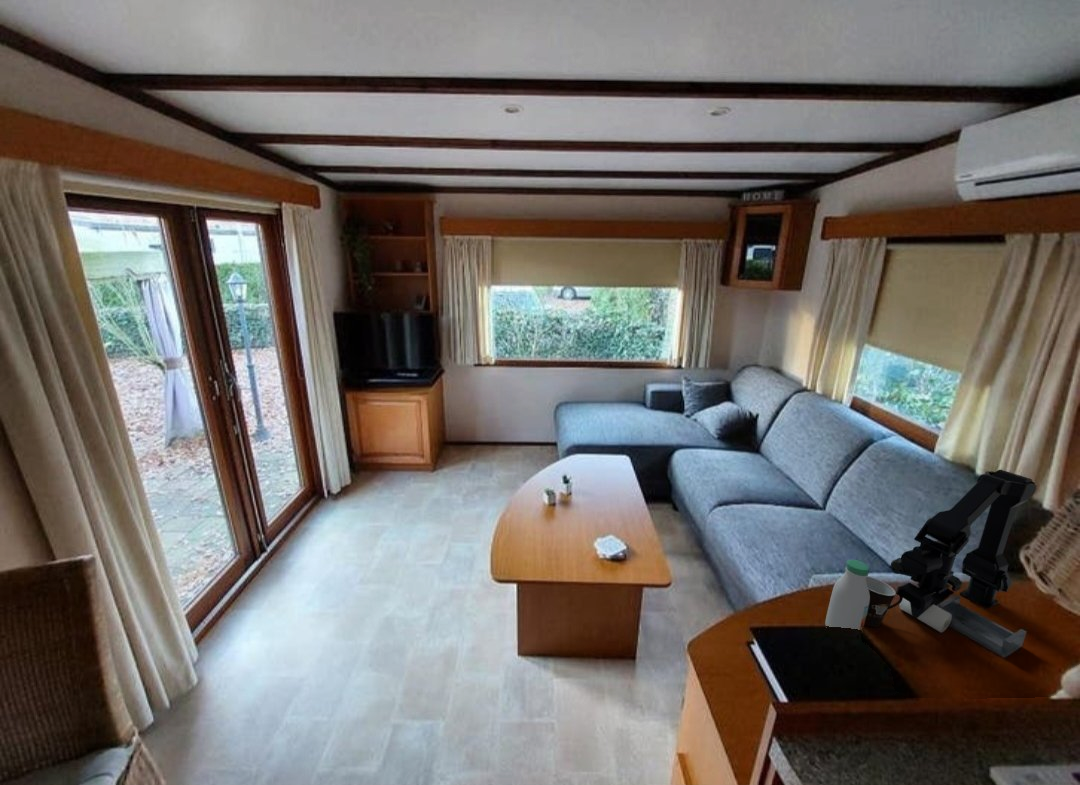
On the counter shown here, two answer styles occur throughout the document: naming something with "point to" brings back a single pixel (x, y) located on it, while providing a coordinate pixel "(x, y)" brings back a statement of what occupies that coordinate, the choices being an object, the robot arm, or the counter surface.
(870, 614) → the coffee mug
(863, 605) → the milk bottle
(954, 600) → the cradle holder
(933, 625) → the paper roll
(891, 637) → the counter surface
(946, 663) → the counter surface
